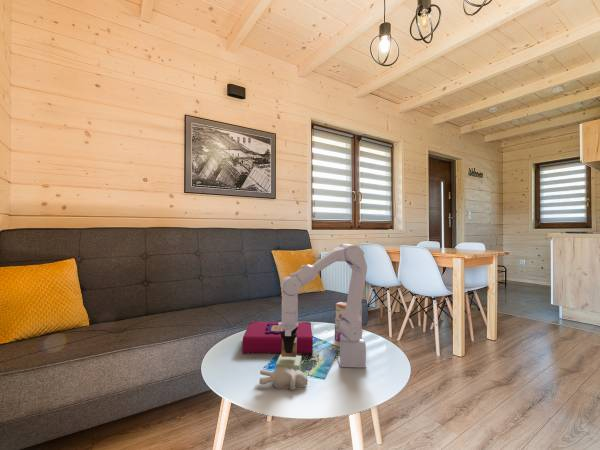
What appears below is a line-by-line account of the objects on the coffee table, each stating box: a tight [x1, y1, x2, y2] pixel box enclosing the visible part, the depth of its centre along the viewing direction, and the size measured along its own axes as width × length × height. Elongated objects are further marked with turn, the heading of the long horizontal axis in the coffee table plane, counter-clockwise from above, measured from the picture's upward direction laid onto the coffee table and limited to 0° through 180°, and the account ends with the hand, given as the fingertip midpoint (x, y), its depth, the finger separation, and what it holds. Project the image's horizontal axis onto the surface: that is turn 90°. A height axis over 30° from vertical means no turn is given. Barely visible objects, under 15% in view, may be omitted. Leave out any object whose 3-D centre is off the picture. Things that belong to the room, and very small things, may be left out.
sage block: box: [275, 354, 303, 371], centre depth 110 cm, size 8×8×4 cm
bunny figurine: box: [258, 367, 309, 390], centre depth 99 cm, size 10×5×15 cm
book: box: [241, 321, 314, 355], centre depth 133 cm, size 21×28×8 cm
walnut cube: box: [281, 337, 297, 357], centre depth 110 cm, size 5×5×5 cm
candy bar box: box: [334, 301, 363, 342], centre depth 137 cm, size 11×5×16 cm, turn 58°
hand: (289, 349), depth 110 cm, fingers closed on walnut cube, 5 cm apart
